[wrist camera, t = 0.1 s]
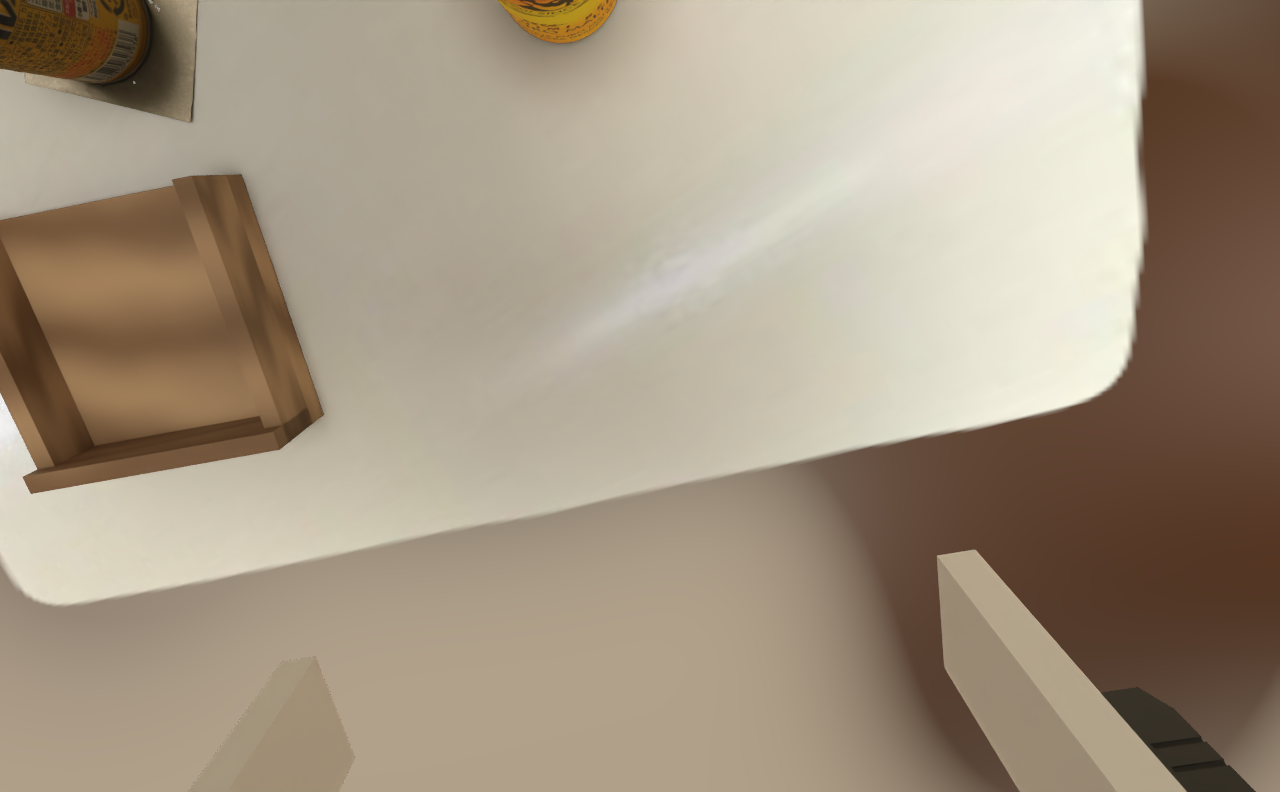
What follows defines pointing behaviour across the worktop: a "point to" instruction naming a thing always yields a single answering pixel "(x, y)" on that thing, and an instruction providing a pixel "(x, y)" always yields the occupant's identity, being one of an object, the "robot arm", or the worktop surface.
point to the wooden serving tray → (147, 335)
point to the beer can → (559, 17)
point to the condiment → (105, 50)
